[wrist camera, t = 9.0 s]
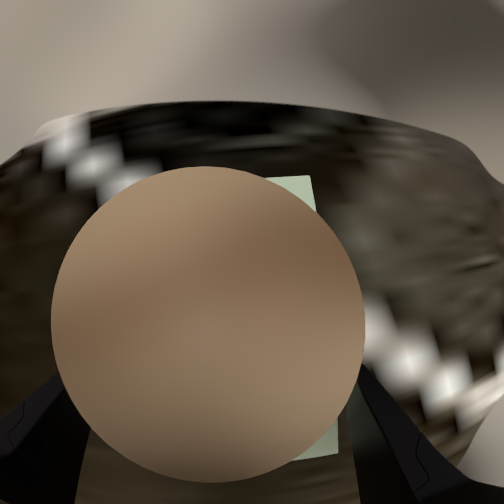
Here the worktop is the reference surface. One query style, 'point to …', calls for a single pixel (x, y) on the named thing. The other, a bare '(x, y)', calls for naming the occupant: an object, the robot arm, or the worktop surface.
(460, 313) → the worktop surface
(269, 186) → the tan turned knob
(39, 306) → the worktop surface
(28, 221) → the worktop surface
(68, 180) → the worktop surface
